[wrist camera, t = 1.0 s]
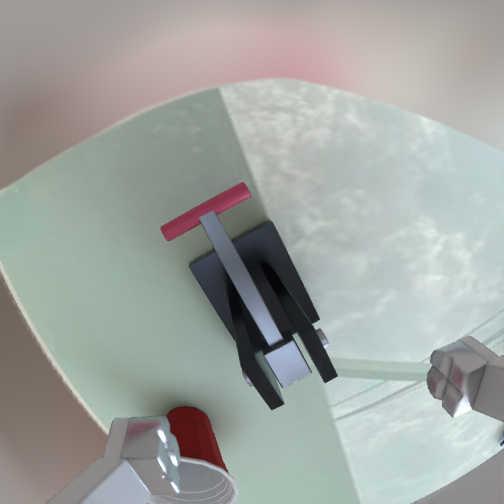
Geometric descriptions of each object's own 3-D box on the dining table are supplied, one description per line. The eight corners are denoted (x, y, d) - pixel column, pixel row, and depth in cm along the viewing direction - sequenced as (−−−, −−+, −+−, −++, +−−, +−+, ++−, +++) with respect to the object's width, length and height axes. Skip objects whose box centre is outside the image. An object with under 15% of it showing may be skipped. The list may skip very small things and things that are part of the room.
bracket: (189, 262, 32) (177, 333, 18) (269, 219, 32) (320, 258, 18) (245, 353, 35) (269, 450, 21) (316, 315, 35) (376, 394, 21)
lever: (164, 227, 21) (155, 226, 19) (243, 184, 21) (243, 178, 19) (255, 385, 22) (257, 401, 20) (328, 347, 22) (338, 359, 20)
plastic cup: (209, 378, 35) (213, 454, 24) (241, 435, 38) (253, 505, 27) (129, 401, 35) (111, 473, 23) (168, 453, 38) (165, 521, 26)
